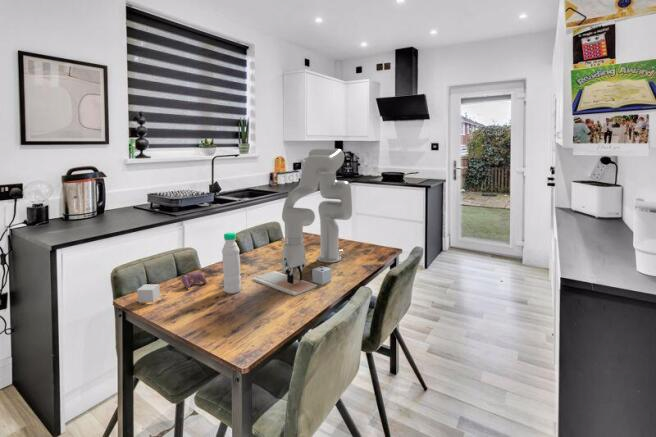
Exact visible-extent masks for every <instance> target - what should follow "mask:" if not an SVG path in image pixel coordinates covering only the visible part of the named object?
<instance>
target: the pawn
mask: <svg viewBox="0 0 656 437" xmlns="http://www.w3.org/2000/svg"><path fill="white" fill-rule="evenodd" d="M292 275H293V284H298V283H300V272H299V270H298V268H297V267H294V268H293V272H292Z"/></svg>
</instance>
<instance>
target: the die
mask: <svg viewBox="0 0 656 437" xmlns="http://www.w3.org/2000/svg"><path fill="white" fill-rule="evenodd" d="M311 272H312V276H311V277H312V282H313V283H314V284H318V285H321V286H324V285H326V284H328V283H331V282H332V268H330V267H325V266H323V265H320V266H318V267H315V268H312V271H311Z"/></svg>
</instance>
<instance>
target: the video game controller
mask: <svg viewBox="0 0 656 437" xmlns="http://www.w3.org/2000/svg"><path fill="white" fill-rule="evenodd" d="M192 280H193V281H192ZM200 282H202V283H203V284H204V283H206V284H208V282H207V279H206V278H205V276H204V275H203V273H201V272H200V271H191V272H189V273H187V274H184V275H183V276H182V277H181V283H182V284H183V286H184V288H185V287H186V288H190V289H191V287H190V285H192V284H193V285H194V283H199V284H200ZM193 285H192V286H193ZM186 288H185V289H186Z"/></svg>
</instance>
